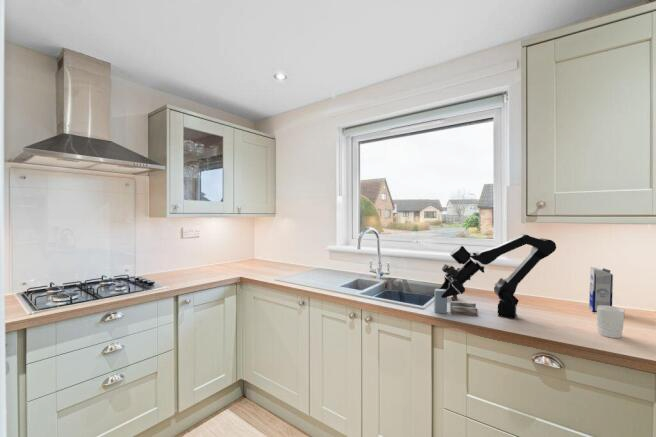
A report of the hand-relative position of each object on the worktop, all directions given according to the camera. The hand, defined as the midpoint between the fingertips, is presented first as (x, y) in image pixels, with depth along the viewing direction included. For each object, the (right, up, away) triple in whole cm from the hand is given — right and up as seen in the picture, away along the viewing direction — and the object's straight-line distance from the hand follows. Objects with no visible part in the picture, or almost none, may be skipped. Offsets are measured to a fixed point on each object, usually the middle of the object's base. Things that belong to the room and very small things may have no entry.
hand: (440, 294), depth 148 cm
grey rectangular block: (0, -8, 0) cm, 8 cm away
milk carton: (+73, -8, 0) cm, 74 cm away
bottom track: (+11, -8, +1) cm, 13 cm away
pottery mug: (+12, -7, +21) cm, 25 cm away
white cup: (+54, -9, -27) cm, 61 cm away
